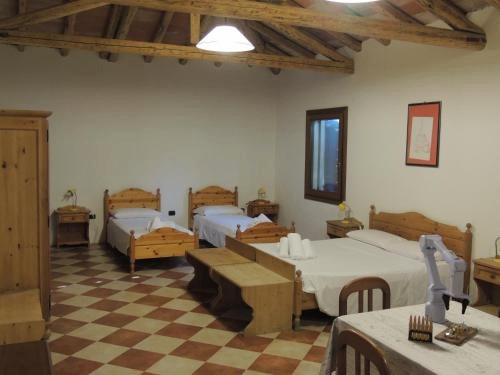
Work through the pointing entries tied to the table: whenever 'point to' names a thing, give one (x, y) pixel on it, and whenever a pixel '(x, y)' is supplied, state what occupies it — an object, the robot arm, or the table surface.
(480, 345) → the table surface
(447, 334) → the mounted gears
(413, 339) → the ammunition clip
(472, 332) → the gear board
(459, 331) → the wooden gear
